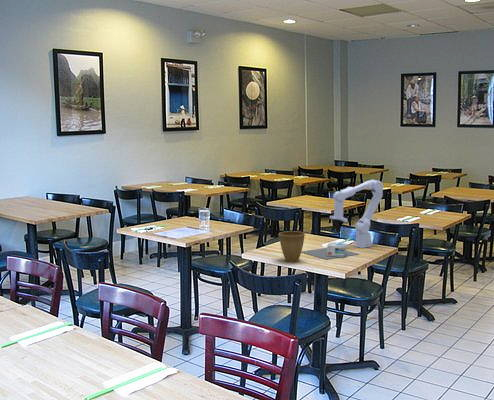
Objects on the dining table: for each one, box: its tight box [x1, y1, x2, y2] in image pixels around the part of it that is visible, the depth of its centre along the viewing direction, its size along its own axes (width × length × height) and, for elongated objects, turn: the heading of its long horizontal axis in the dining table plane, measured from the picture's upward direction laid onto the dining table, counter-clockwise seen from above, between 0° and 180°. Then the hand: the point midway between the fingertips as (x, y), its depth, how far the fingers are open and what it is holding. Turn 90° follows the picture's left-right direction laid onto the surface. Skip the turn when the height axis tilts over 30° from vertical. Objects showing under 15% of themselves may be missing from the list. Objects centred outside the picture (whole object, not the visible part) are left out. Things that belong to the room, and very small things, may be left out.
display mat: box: [301, 247, 360, 261], centre depth 352 cm, size 26×24×1 cm
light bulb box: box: [326, 241, 347, 258], centre depth 346 cm, size 11×7×11 cm
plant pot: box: [278, 230, 306, 263], centre depth 332 cm, size 15×15×16 cm
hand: (338, 231), depth 367 cm, fingers closed
